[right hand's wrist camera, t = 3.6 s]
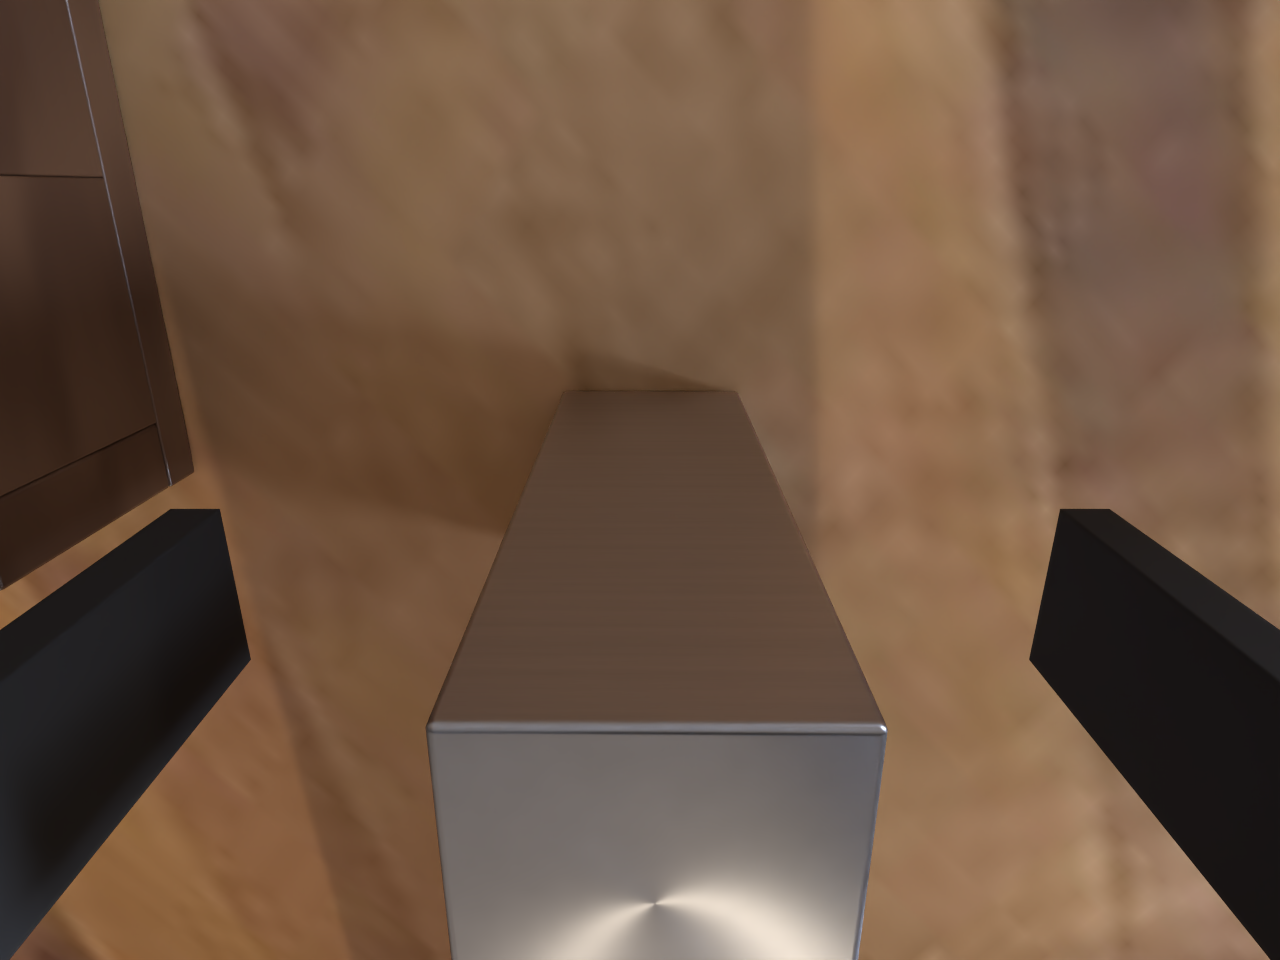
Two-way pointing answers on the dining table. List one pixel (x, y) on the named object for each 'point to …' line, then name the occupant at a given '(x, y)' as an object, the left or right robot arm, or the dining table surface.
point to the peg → (654, 709)
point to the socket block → (74, 297)
